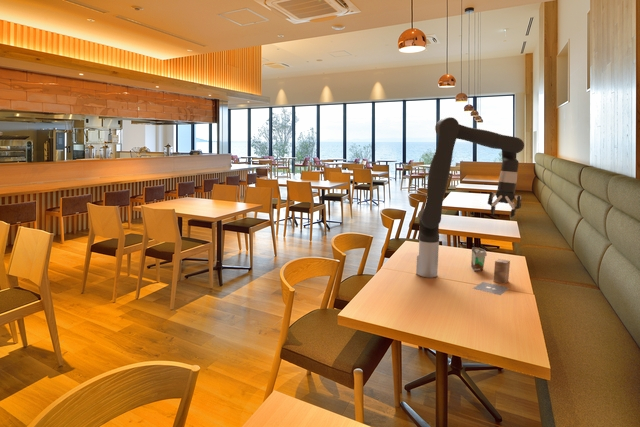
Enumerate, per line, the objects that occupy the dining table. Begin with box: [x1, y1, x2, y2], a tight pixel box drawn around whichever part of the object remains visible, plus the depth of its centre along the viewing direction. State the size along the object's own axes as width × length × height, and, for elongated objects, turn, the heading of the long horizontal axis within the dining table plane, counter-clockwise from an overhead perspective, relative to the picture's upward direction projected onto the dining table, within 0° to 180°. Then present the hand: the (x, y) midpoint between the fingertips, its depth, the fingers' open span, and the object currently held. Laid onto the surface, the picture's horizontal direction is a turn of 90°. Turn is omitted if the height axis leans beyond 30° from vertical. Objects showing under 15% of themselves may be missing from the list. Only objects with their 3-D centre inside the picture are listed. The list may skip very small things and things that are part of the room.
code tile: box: [472, 281, 510, 296], centre depth 181 cm, size 12×12×1 cm
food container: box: [470, 246, 488, 273], centre depth 208 cm, size 12×6×10 cm, turn 168°
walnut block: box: [493, 258, 511, 285], centre depth 189 cm, size 5×5×10 cm
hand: (502, 215), depth 192 cm, fingers open, 8 cm apart
